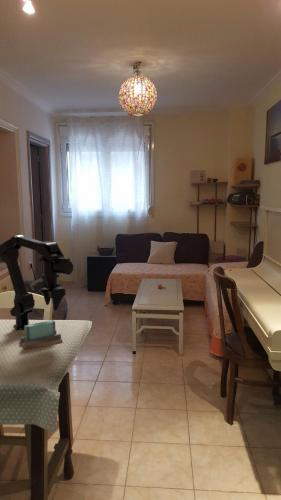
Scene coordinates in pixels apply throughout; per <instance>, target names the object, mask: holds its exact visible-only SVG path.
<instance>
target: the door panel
mask: <svg viewBox="0 0 281 500" xmlns="http://www.w3.org/2000/svg"><path fill="white" fill-rule="evenodd" d="M29 324H30V323H29ZM24 327H25V329H24V336H25V341H28V340H33V339H37V338H42V337H47V336H51V335H56V333H57V331H56V332H55V330H56V321H55V320H54V319H52V320H47V321H43V322H36V323H31V324H30V325H25V326H24Z"/></svg>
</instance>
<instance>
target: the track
mask: <svg viewBox="0 0 281 500" xmlns="http://www.w3.org/2000/svg"><path fill="white" fill-rule="evenodd" d="M55 332H56V335H51V336H47V337H42V338H37V339H33V340H28V341H25V335H23V336H21V337H20V338H19V339H20V340H19V341H18V342H19V344H20V345H21V346H22V347H23V348H24V350H25V349H26V350H25V351H29V349H30V350H33V349H38V348H42V347H46V346H52V345H56V344H60V343H63V342H64V340H63V338H62V333H58V334H57V330H56V329H55Z"/></svg>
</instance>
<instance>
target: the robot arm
mask: <svg viewBox="0 0 281 500" xmlns="http://www.w3.org/2000/svg"><path fill="white" fill-rule="evenodd" d="M22 247H23V248H26V249H28V250H29V249H30V250H33V251H36V252H37V254H38V255H40V256H41V257H40V258H39V259H38V261H39V262H42V266H43V267H42V268H43V270H42V272H43V273H41V275H40V277H41V278H38V279H36V280H34V281H31V282H30V283H29V286H30V288H31V291H32V292H34V293H37V292H41V293H42V296H43V299H44V303H45V305H46V306H49V305H50V303H51V301H52V306H53V307H52V308H53V311H54V312H55V311H57V310H58V308H59V306H60V304H61V302H62V300H63V298H64V297H65V296H66V295H67V293H66V292H67V290H66V289H65V288H64V287H62V286H60V283H58V282H59V281H58V278H59V277H60V274H61V275H66V276H67V275H71V274H72V273H73V271H74V264H73V262H72V261H71V259H70V257H65V256H64V254H63V251H62V250H61V249H60V246H59V245H58V243H57V242H55V241H40V240H37V239H36V238H31V237H28V236H25V235H23V234H17V235H13V236H11V238H10V239H7V240H6V241H5V242H3V243H1V244H0V259H1V260H2V262H3V263H5V265H6V268H7V271H8V275H9V278H10V280H11V281H10V282H11V285H12V288H13V291H14V298H13V307H12V308H11V309H10V311H9V312H10V315H11V316H12V317H15V324H13V327H14V328H15V329H16V331H18V330H19V331H20V330H25V327H24V326H25V325H30V321H29V319H30V318H29V314H31V313H33V311H34V308H35V302H36V300H35V299H34V295H33V293H30V292H29V291H27V288H26V284H25V281H24V278H23V276H22V272H21V269H20V268H21V267H20V264H19V261H18V259H19V257H20V253H19V250H21V249H22Z"/></svg>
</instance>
